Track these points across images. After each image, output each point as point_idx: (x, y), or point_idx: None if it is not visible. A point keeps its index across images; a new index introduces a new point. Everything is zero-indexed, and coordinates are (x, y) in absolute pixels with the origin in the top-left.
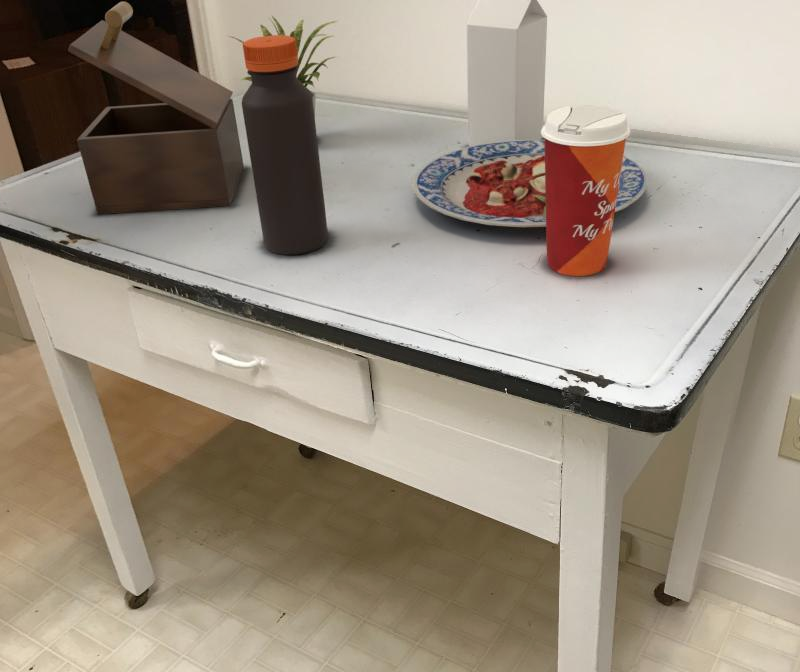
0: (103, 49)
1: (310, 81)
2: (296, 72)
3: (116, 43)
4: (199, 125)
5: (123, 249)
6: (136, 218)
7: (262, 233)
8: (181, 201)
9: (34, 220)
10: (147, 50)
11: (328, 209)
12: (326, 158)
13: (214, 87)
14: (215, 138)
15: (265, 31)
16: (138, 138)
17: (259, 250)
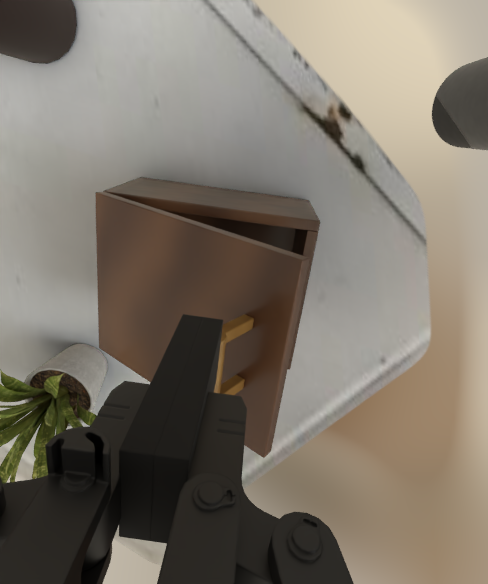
0: (248, 309)
1: (4, 383)
2: (21, 408)
3: (233, 365)
4: None
5: (264, 63)
6: (257, 171)
7: (67, 2)
8: (198, 186)
9: (389, 205)
10: None
11: (13, 126)
12: (40, 302)
13: (114, 335)
14: (111, 189)
15: None
16: (225, 207)
17: (83, 2)
